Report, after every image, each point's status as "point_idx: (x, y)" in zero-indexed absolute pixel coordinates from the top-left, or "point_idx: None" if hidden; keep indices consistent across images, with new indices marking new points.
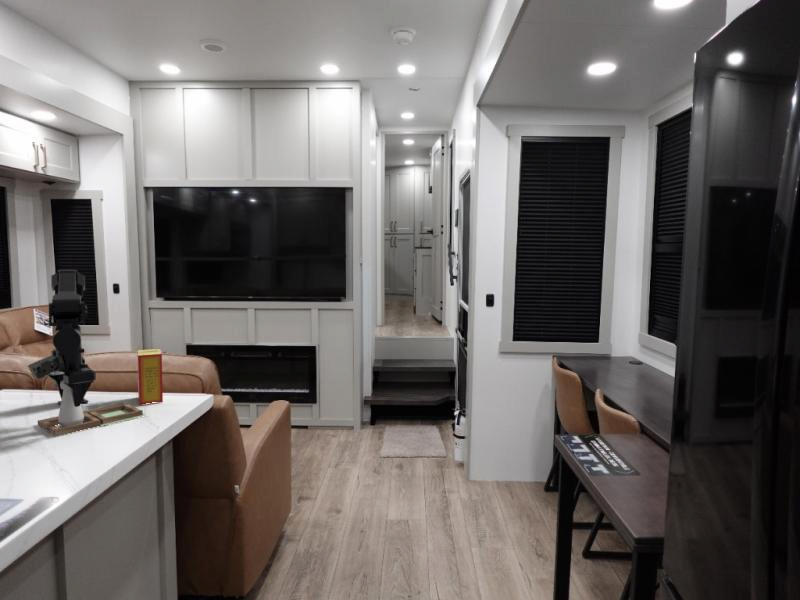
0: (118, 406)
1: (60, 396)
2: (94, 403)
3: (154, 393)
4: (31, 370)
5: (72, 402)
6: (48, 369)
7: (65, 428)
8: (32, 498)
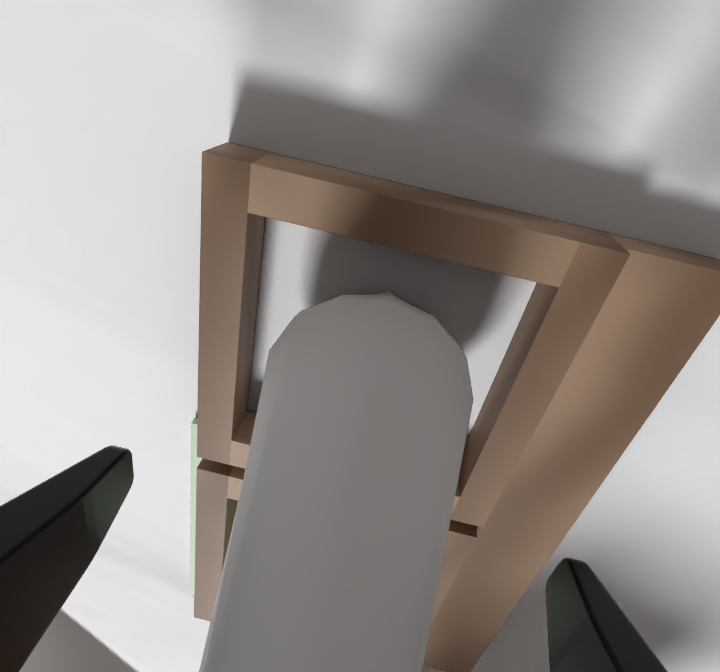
0: None
1: (617, 604)
2: (702, 658)
3: None
4: None
5: (237, 509)
6: None
7: (201, 239)
8: None
